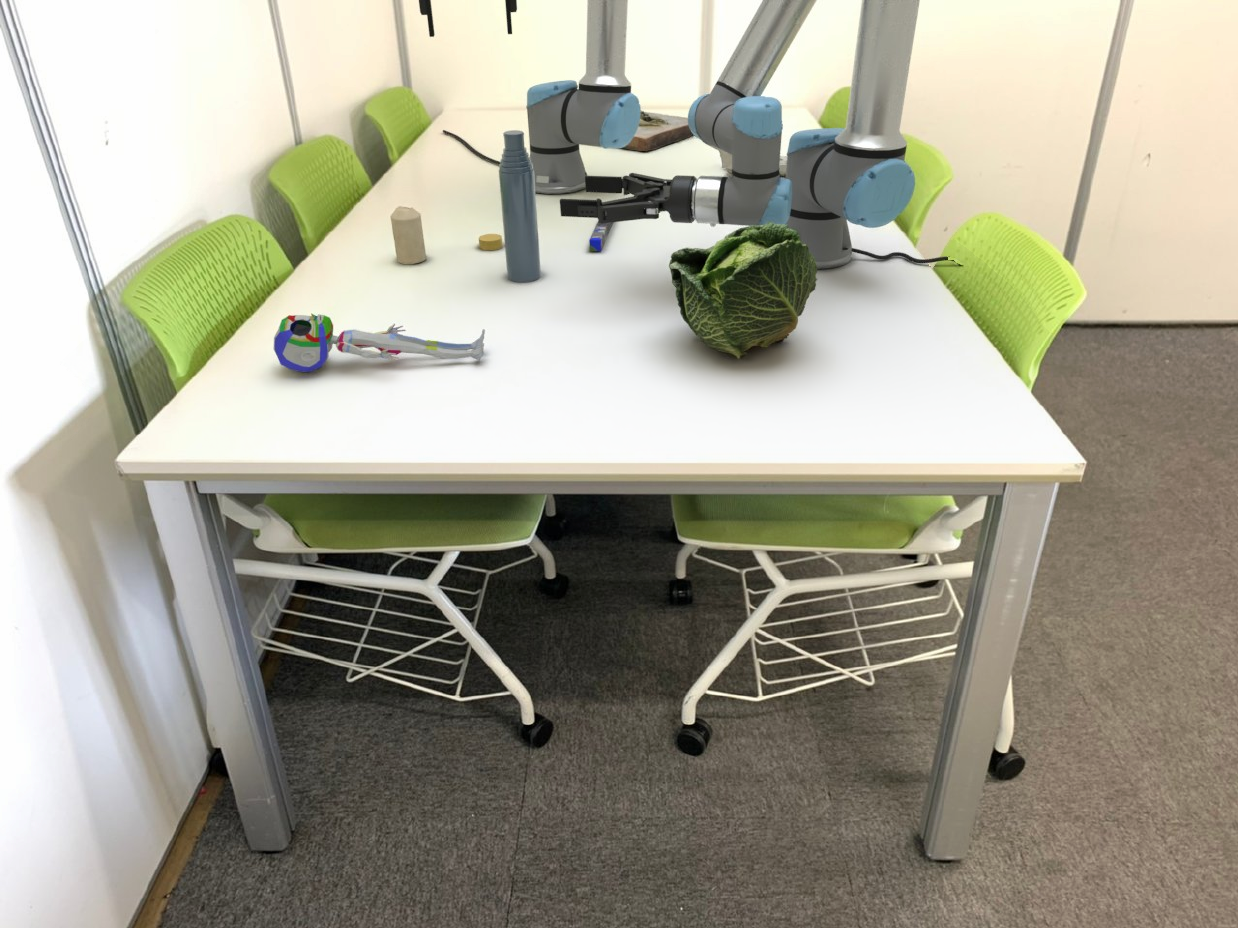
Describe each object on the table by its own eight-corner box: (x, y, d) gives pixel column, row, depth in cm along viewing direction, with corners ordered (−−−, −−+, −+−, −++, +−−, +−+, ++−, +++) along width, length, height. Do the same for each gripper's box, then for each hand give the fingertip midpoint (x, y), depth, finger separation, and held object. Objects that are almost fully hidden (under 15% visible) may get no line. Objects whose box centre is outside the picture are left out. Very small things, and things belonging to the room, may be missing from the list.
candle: (431, 256, 173) (424, 204, 168) (417, 265, 169) (409, 213, 164) (406, 253, 175) (399, 202, 170) (391, 262, 171) (383, 210, 165)
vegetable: (704, 370, 145) (643, 264, 138) (800, 304, 147) (745, 195, 139) (754, 397, 127) (686, 277, 119) (863, 321, 128) (804, 197, 121)
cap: (475, 246, 179) (474, 237, 178) (494, 241, 181) (493, 232, 180) (487, 252, 176) (486, 242, 175) (507, 247, 178) (506, 237, 177)
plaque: (647, 125, 237) (559, 112, 252) (647, 153, 241) (560, 139, 256) (706, 107, 258) (622, 97, 273) (705, 133, 262) (622, 121, 277)
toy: (484, 341, 128) (264, 324, 124) (481, 394, 133) (269, 379, 128) (485, 314, 137) (280, 296, 132) (482, 364, 141) (284, 349, 136)
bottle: (539, 269, 167) (530, 127, 153) (542, 281, 162) (533, 135, 148) (506, 271, 166) (494, 129, 153) (508, 283, 161) (496, 137, 148)
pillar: (613, 210, 190) (600, 241, 173) (613, 220, 191) (600, 251, 174) (603, 210, 190) (589, 240, 173) (603, 220, 191) (589, 251, 174)
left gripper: (378, -107, 142) (397, 39, 153) (535, -110, 145) (543, 35, 156) (382, -107, 148) (400, 34, 160) (533, -110, 151) (540, 29, 162)
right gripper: (679, 247, 140) (551, 241, 145) (710, 200, 160) (596, 195, 165) (679, 199, 136) (547, 195, 141) (710, 156, 156) (594, 154, 161)
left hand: (471, 35), depth 158 cm, fingers open, 13 cm apart
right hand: (573, 195), depth 153 cm, fingers open, 13 cm apart
